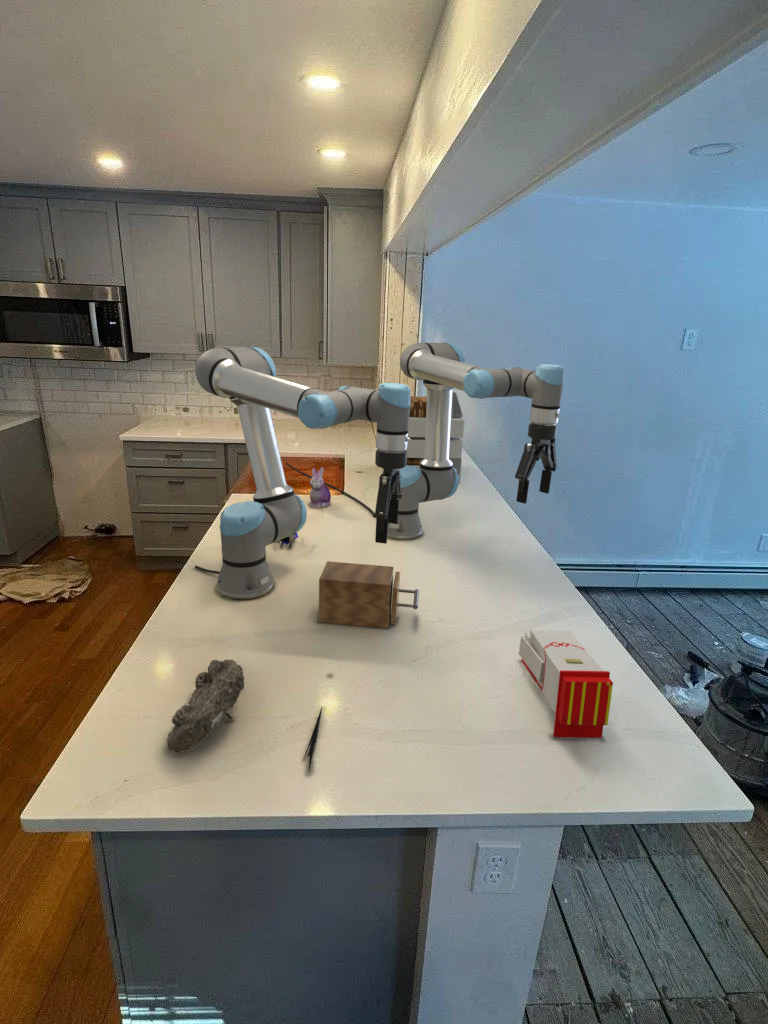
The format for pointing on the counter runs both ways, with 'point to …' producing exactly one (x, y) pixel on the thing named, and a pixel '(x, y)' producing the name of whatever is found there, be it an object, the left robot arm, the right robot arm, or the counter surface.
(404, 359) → the right robot arm
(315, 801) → the counter surface
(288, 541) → the figurine character
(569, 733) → the toy
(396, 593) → the drawer
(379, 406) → the left robot arm
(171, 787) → the counter surface
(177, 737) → the fossil
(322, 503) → the figurine
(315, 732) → the feather
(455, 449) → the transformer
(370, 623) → the cabinet
